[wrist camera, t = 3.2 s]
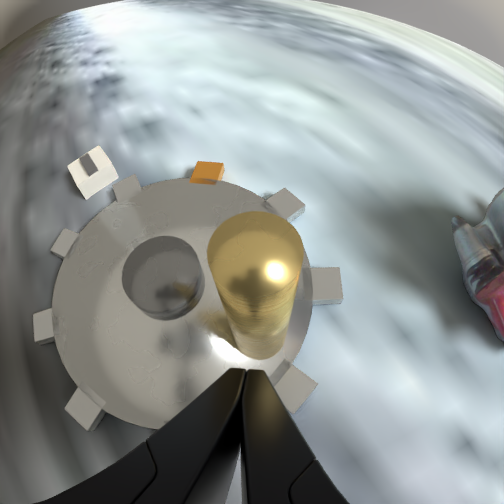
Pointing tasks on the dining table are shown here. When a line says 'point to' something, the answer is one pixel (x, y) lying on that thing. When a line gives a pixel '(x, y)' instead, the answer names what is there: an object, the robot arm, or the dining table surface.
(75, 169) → the block
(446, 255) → the dining table surface
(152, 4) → the dining table surface
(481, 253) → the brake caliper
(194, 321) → the sprocket
